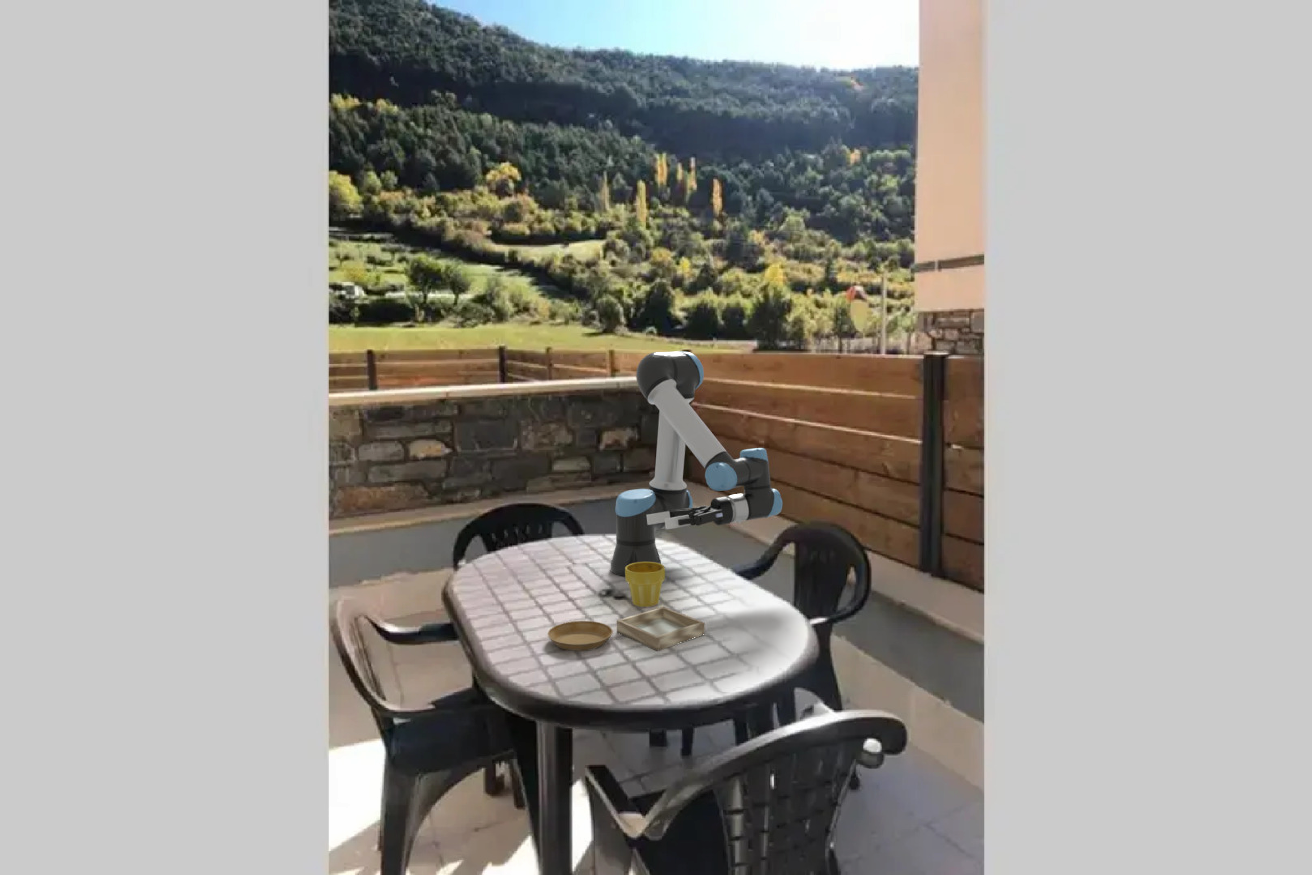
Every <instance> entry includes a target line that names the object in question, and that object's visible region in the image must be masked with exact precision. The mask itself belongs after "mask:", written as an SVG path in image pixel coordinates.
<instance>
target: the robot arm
mask: <svg viewBox="0 0 1312 875" xmlns="http://www.w3.org/2000/svg"><path fill="white" fill-rule="evenodd" d="M636 368H637V369H636V373H635V377H636V382H637V386H638V388H639V391H640V392H641V394H642V395H643V397H644V398H645V400H646V401H647V402H648V403H649V404H650V405H655V406H656V408H657V409H658V410H659V413H658V428H657V429H658V430H657V440H656V441H657V443H656V457H655V466H654V467H655V468H654V470H655V471H654V477H653V479H652V480H650V481H649V485H648V488H637V489H629V490H625V491H623V492H621V493H620V494H619V495H617V497H616V501H615V509H614V511H615V539H616V541H615V542H616V543H615V547H614V551H613V554H612V559H611V560H610V571H611V572H612V573H614V574H615V575H619V576H623V577H625V567H626V566H627V565H629V564H632V563H637V562H656V563H660V564H662V561H661V558H660V555H659V551H658V548H657V545H656V531H660V530H664V529H665V530H671V529H672V530H673V529H677V528H683V527H684V528H685V527H689V526H690V527H691V526H697V527H699V526H701V525H705V524H709V523H712V522H713V523H714V524H715V525H717V526H723V525H729V524H735V523H737V525H740V524H742V522H746V521H752V520H753V521H754V520H757V519H764V518H765V519H767V518H770V517H773V516H777V515H779V514H780V513H781V512H782V509H783V498H782V497H781V493H780V492H779V490H777V489H776V488H772V486H771V474H770V466H769V465H770V464H769V463H770V462H769V459H768V458H769V457H768V453H767V449H766V448H764V447H758V448H757V447H756V448H747V449H743V450H741V451H740V452H739V458H736V459H734V458H733V457H732V456H731V455H730V454H729V453H728V451H727V450H726V449H725V447H724V446H723V445H722V444H721V442H720V441H719V440H718V439H717V438H716V436H715V435H714V433H712V431H711V430H710V428H708V426H707V425H706V424H705V422H704V421H703V420H702V419H701V418H700V416H699V415H698V413H697V412H696V411H695V410H694V409H693V407H692V406H691V405H690V403H691V402H692V401H694V399H695V392H696V390H697V389H698V388H699V387H700V385H702V384H703V382H704V376H705V372H704V366H703V363H702V362H701V361H700V360H699V358H698V357H697V355H695V354H693V353H692V352H689V351H681V350H676V351H674V350H673V351H655V352H651V353H648V354H647V355H645V356H644V357H643V358H642V359H641V360H640V361H639V363H638V365H637V367H636ZM686 447H688V449H689V450H690V451H691V452H692V454H693V455H694V456H695V457H696V459H697V460H698V462H699V463H700V464H701V466H702V467H703V468H704V469H705V473H704V478H705V480H706V484H707V486H708V487H709V488H710V489H711V490H713V491H715V492H721V491H722V492H723V491H730V490H732V489H735V488H740V487H743V490H744V493H737V494H731V495H727V496H720V497H714V498H712V500H711V501H710V505H709V506H708V505H702V506H697V507H693V506H694V503H693V502H694V501H693V497H692V496H691V493H690V491H689V490H688V489H687V488H688V484H687V483H686V482H685V481H684V479H683V478H684V477H683V476H684V466H685V453H686Z"/></svg>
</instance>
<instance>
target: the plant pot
mask: <svg viewBox="0 0 1312 875" xmlns="http://www.w3.org/2000/svg"><path fill="white" fill-rule="evenodd" d="M624 577H625V578H624V579H625V581H626V582H627V583H628V587H629V591H630V595H631V600H632V604H633V605H634V606H636V607H640V608H649V607H650V608H651V607H654V606H657V605H658V604H659V601H660V597H661V590H662V586H663V582H664V581H665V579H666V568H665V566H664V564H662V563H661V564H660V563H656V562H637V563H632V564H629V565H627V566H626V567H625V576H624Z"/></svg>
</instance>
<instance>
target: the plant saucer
mask: <svg viewBox="0 0 1312 875" xmlns="http://www.w3.org/2000/svg"><path fill="white" fill-rule="evenodd" d="M613 632H614V631H613V629H612V627H610V626H609V625H608V624H605V623H602V622H599V621H591V620H577V621H570V622H568V621H567V622H563V623H561V624H557V625H555V626H553V627H551V628H550V629H549V630H548V632H547V635H548V638H549V639H550V640H551V641H552V642H553V643H554V644H555V645H556V646H557V647H559V648H560V649H563V650H566V651H570V652H583V651H584V652H586V651H591V650H595V649H597V648H600V647H601V646H603V645H604V644H605V643H606V642H607V641H608V640H609V639H610V638H611V636H612V635H613Z"/></svg>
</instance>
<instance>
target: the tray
mask: <svg viewBox="0 0 1312 875" xmlns="http://www.w3.org/2000/svg"><path fill="white" fill-rule="evenodd" d="M705 625H706V623H705V622H704V621H701V620H700V619H696V618H694V617H691V616H689V615H686V614H684V613H681V612H678V611H676V610H673V609H671V608H669V607H667V606H660V607H658V608H654V609H651V610H648V611H644V612H641V613H638V614H634V615H630V616H628V617H627V616H626V617H624V618H621V619H616V633H617V634H619V633H620V634H619V635H621V634H622V635H621V636H624V637H625V638H627V637H628V638H627V639H629V640H632V641H635V642H637V643H638V642H639V643H638V644H640V643H641V645H643V646H645V647H648V648H649V649H651V650H653V651H656V652H658V650H659V651H661V650H664V649H668V648H670V647H674V646H676V645H678V643H679V644H681V643H680V642H682V643H684V641H685V642H688V641H690V640H689V639H691V640H693V639H692V638H694V637H697V638H700V637H702V636H701V635H703V634H705V631H706V630H705V628H706V627H705ZM705 635H706V634H705ZM699 636H700V637H699ZM703 636H704V635H703ZM694 639H695V638H694ZM687 640H688V641H687ZM675 644H676V645H675ZM669 646H670V647H669Z"/></svg>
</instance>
